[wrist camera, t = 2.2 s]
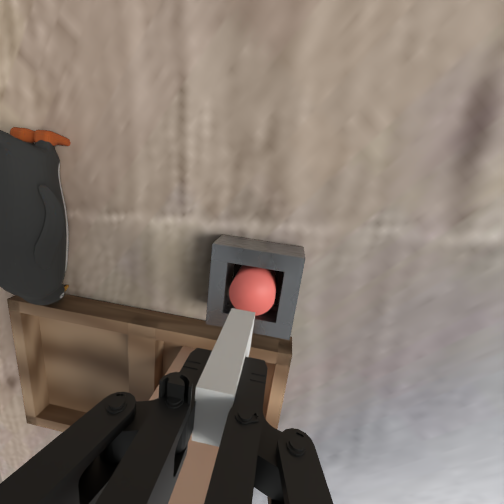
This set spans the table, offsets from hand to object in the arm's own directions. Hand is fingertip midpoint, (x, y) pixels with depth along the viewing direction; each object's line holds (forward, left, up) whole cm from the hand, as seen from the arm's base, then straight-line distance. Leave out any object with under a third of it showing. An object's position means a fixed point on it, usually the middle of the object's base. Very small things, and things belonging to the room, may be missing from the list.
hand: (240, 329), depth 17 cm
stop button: (0, 0, -7) cm, 7 cm away
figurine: (-3, -19, -8) cm, 21 cm away
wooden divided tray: (+13, -9, -8) cm, 18 cm away
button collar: (0, 0, -8) cm, 8 cm away
